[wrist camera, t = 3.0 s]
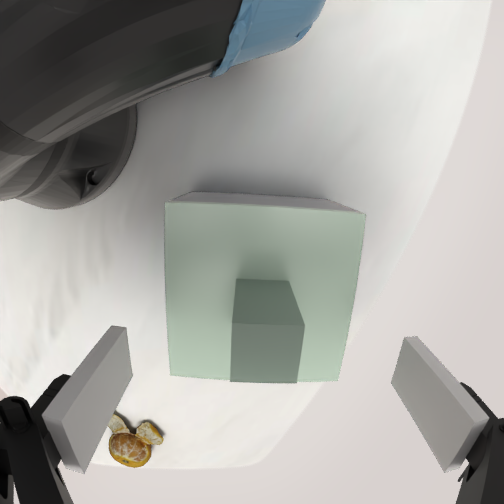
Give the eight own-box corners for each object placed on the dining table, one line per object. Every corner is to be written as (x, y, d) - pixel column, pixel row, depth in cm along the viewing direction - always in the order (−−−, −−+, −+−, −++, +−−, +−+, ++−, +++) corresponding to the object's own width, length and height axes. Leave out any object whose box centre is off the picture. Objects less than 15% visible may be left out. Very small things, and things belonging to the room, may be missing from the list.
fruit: (164, 427, 34) (159, 449, 31) (161, 461, 37) (156, 480, 33) (101, 408, 34) (91, 428, 30) (105, 444, 36) (97, 462, 33)
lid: (177, 353, 24) (151, 432, 16) (175, 198, 21) (129, 217, 13) (329, 359, 25) (359, 437, 16) (351, 208, 22) (411, 233, 13)
